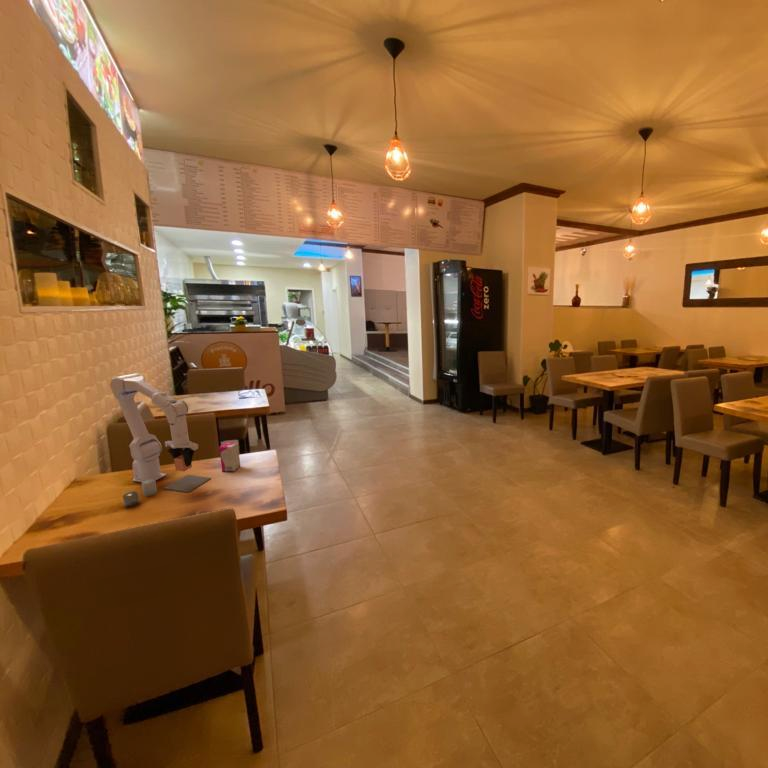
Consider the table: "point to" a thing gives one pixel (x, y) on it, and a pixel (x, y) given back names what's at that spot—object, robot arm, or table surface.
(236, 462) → the supplement box
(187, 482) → the charcoal mat
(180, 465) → the red block
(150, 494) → the grey domed cylinder
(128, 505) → the metal tin
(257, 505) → the table surface
